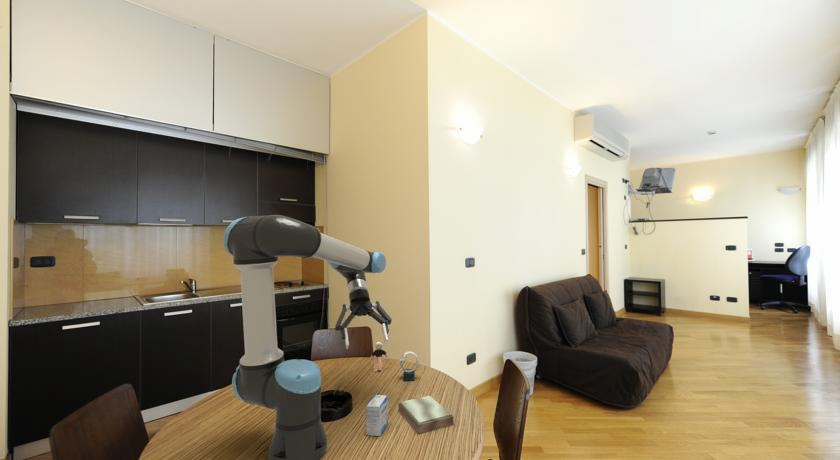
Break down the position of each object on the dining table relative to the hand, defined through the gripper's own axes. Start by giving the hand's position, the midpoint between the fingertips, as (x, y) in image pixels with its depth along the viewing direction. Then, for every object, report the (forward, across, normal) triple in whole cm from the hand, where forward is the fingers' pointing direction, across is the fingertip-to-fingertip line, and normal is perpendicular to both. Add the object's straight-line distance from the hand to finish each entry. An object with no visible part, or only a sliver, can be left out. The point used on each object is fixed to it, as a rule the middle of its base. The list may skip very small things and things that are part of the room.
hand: (367, 344), depth 120 cm
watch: (+3, -21, -30) cm, 36 cm away
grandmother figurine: (-7, -11, -40) cm, 42 cm away
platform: (+25, -16, -6) cm, 30 cm away
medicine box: (+26, 0, -5) cm, 26 cm away
